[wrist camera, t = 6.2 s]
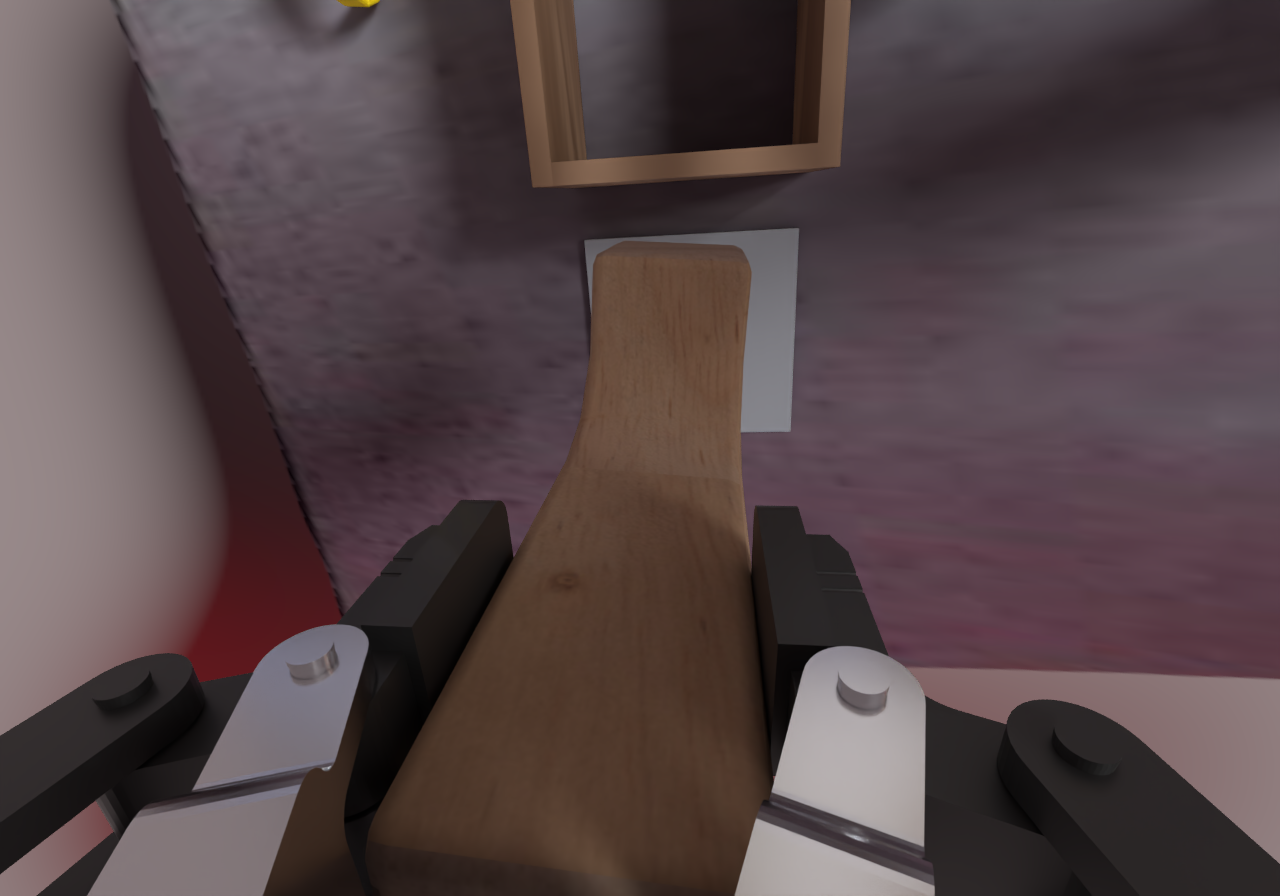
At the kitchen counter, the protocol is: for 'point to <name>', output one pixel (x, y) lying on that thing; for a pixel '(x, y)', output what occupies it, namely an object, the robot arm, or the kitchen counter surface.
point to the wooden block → (611, 633)
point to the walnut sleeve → (564, 164)
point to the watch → (358, 3)
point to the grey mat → (753, 317)
